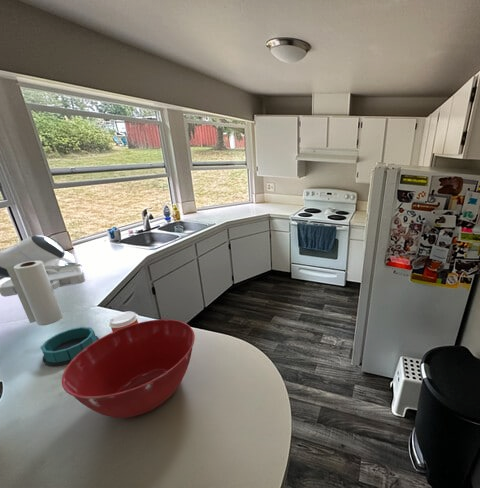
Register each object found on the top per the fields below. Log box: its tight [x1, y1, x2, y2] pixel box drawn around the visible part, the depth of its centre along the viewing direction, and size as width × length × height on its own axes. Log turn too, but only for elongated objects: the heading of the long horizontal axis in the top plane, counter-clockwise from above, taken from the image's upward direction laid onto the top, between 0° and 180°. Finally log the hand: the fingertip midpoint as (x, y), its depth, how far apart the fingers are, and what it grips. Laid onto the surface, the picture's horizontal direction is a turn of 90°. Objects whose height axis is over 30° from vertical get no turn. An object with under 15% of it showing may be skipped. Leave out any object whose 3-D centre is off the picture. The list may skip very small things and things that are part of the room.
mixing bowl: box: [61, 318, 196, 419], centre depth 70 cm, size 28×28×15 cm
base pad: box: [40, 326, 100, 367], centre depth 86 cm, size 14×14×5 cm
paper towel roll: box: [5, 261, 64, 327], centre depth 82 cm, size 7×6×21 cm
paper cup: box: [108, 310, 139, 332], centre depth 85 cm, size 8×8×14 cm
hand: (38, 291), depth 81 cm, fingers closed on paper towel roll, 3 cm apart
